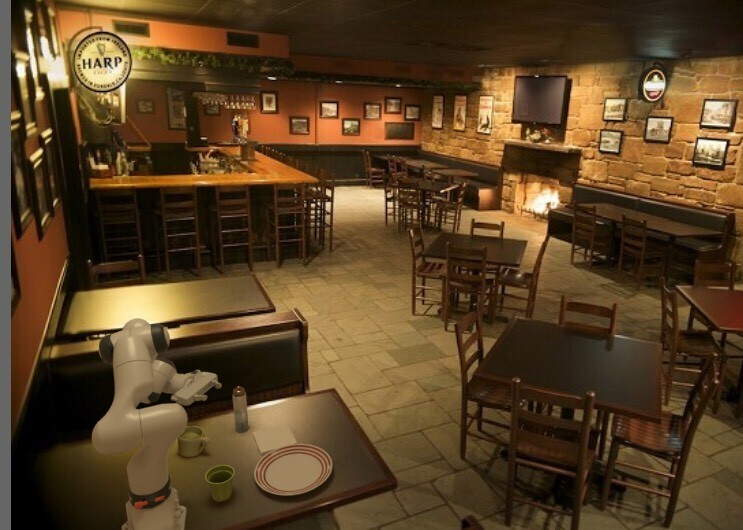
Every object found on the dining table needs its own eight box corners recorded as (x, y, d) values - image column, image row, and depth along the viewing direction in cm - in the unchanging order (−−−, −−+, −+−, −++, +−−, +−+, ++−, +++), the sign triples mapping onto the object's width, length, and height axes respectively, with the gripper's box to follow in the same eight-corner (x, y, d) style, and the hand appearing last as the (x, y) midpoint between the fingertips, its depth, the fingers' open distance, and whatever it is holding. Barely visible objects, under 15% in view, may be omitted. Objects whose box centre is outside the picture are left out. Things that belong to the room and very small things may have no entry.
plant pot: (219, 483, 176) (217, 461, 174) (242, 490, 173) (240, 468, 171) (201, 501, 168) (198, 479, 166) (225, 509, 165) (222, 486, 162)
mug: (167, 451, 190) (174, 426, 189) (188, 444, 199) (195, 420, 198) (189, 467, 185) (197, 442, 184) (210, 459, 194) (217, 435, 193)
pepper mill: (249, 430, 205) (246, 387, 200) (236, 434, 203) (233, 390, 198) (247, 424, 210) (243, 381, 204) (234, 427, 208) (230, 384, 202)
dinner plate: (239, 492, 172) (238, 484, 171) (277, 444, 197) (276, 437, 197) (314, 510, 165) (313, 502, 164) (343, 458, 190) (343, 450, 189)
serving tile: (297, 445, 196) (297, 442, 196) (261, 455, 191) (261, 452, 190) (286, 426, 209) (286, 423, 208) (252, 435, 203) (252, 432, 202)
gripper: (167, 391, 201) (196, 398, 196) (199, 367, 219) (227, 373, 215) (168, 405, 203) (197, 412, 198) (201, 380, 221) (228, 386, 217)
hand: (213, 392), depth 207 cm, fingers open, 8 cm apart
